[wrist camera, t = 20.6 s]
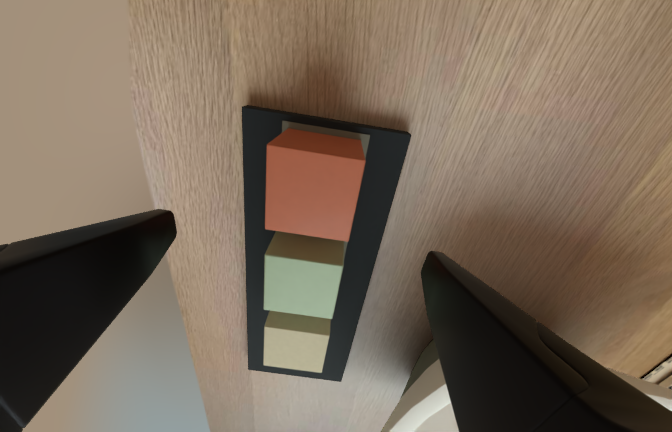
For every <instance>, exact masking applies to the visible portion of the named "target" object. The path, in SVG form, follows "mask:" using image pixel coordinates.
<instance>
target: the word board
mask: <svg viewBox="0 0 672 432" xmlns="http://www.w3.org/2000/svg"><path fill="white" fill-rule="evenodd" d="M288 128H290V129H296V130H302V131H308V132H314V133H320V134H326V135H332V136H338V137H344V138H350V139H356V140H361V143H362V147H363V152H364V156H365V160H366V162H365V167H364V172H363V176H362V181H361V186H360V190H359V195H358V200H357V204H356V209H355V214H354V219H353V223H352V228H351V233H350V237H349V241H348V242H346V241H344V266H343V271H342V276H341V280H340V285H339V290H338V295H337V299H336V304H335V309H334V314H333V318H332V319H328V318H321V317H313V316H306V315H299V314H292V313H285V312H278V311H270V310H264V263H265V253H266V251H267V249H268V247H269V245H270V243H271V240H272V238H273V236H274V234H275V232H276V231H274V230H267V229H265V201H266V154H267V144H268V143H269V142H271V141H272V140H273V139H275V138H276V137H277V136H279V135H280V134H281V133H283V132H284V131H285V130H287V129H288ZM242 131H243V172H244V212H245V253H246V293H247V334H248V369H249V370H256V371H263V372H271V373H278V374H286V375H294V376H301V377H309V378H316V379H324V380H332V381H339V382H341V380H342V377H343V373H344V370H345V366H346V363H347V359H348V356H349V352H350V349H351V345H352V342H353V338H354V335H355V331H356V328H357V324H358V320H359V317H360V313H361V310H362V306H363V303H364V299H365V296H366V292H367V289H368V285H369V282H370V278H371V275H372V271H373V268H374V264H375V261H376V257H377V254H378V250H379V247H380V243H381V240H382V236H383V233H384V229H385V226H386V222H387V219H388V215H389V212H390V208H391V205H392V201H393V198H394V194H395V191H396V187H397V184H398V180H399V177H400V173H401V170H402V166H403V163H404V159H405V156H406V152H407V149H408V145H409V142H410V138H411V134H409V133H408V132H405V131H399V130H393V129H387V128H381V127H375V126H369V125H363V124H357V123H351V122H345V121H339V120H333V119H327V118H321V117H315V116H310V115H304V114H298V113H292V112H286V111H280V110H274V109H268V108H262V107H256V106H250V105H247V106H243V107H242Z"/></svg>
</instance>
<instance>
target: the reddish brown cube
mask: <svg viewBox="0 0 672 432" xmlns="http://www.w3.org/2000/svg"><path fill="white" fill-rule="evenodd" d="M365 162H366V160H365V156H364V152H363V147H362V143H361V140H356V139H350V138H344V137H338V136H332V135H326V134H320V133H314V132H308V131H302V130H296V129H290V128H288V129H287V130H285V131H284V132H283V133H281V134H280V135H279V136H277V137H276V138H275V139H273V140H272V141H271V142H269V143H268V144H267V154H266V201H265V229H267V230H274V231H281V232H287V233H294V234H300V235H307V236H313V237H320V238H327V239H333V240H340V241H346V242H348V241H349V237H350V233H351V228H352V223H353V219H354V214H355V209H356V204H357V200H358V195H359V190H360V186H361V181H362V176H363V172H364V167H365Z"/></svg>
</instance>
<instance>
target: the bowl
mask: <svg viewBox="0 0 672 432" xmlns="http://www.w3.org/2000/svg"><path fill="white" fill-rule="evenodd" d="M605 368H606V367H605ZM606 369H608V370H609V371H611V372H612V373H614V374H615V375H617V376H618V377H620V378H622V379H623V380H625V381H626V382H628V383H629V384H631V385H632V386H634V387H635V388H637V389H638V390H640V391H641V392H643V393H644V394H646V395H647V396H649V397H650V398H652V399H654V400H655V401H657V402H658V403H660V404H661V405H663V406H664V407H666V408H667V409H669V410H671V411H672V390H671V389H668V388H665V387H662V386H660V385H657V384H654V383H651V382H648V381H645V380H642V379H639V378H636V377H633V376H630V375H628V374H625V373H622V372H619V371H616V370H613V369H610V368H606ZM381 432H459V430H458V426H457V423H456V419H455V415H454V412H453V408H452V404H451V401H450V397H449V393H448V390H447V386H446V382H445V379H444V375H443V371H442V367H441V364H440V360H439V356H438V353H437V349H436V345H435V342H434V339H433V340H432V341H431V342H430V344H429V345H428V346H427V347H426V348H425V350H424V351H423V352H422V353H421V355H420V357H419V359H418V361H417V363H416V365H415V367H414V369H413V371H412V373H411V375H410V378H409V380H408V382H407V385H406V387H405V389H404V392H403V394H402V396H401V399H400V401H399V403H398V404H397V406H396V408H395V409H394V411H393V413H392V414H391V416H390V417H389V419H388V421H387V422H386V424H385V426H384V427H383V429H382V431H381Z"/></svg>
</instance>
